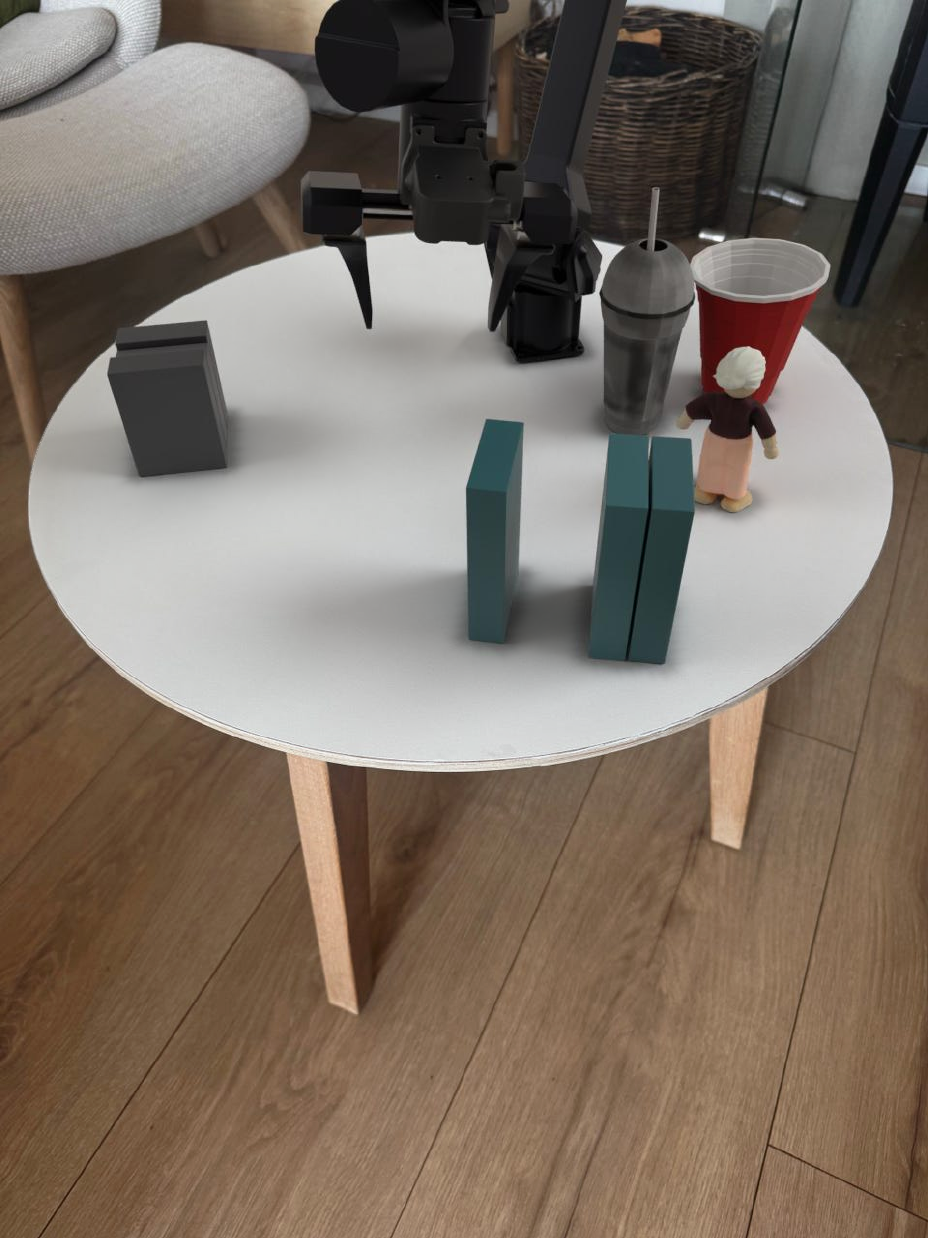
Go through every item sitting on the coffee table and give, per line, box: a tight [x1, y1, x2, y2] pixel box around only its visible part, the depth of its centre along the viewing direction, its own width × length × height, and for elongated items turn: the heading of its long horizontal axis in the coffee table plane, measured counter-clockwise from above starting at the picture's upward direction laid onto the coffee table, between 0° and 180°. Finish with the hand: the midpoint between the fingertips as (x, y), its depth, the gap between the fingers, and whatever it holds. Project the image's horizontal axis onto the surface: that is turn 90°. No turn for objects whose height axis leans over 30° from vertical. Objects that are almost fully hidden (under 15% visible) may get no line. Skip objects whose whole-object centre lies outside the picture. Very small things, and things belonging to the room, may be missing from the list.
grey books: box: [106, 319, 229, 478], centre depth 79 cm, size 7×8×10 cm
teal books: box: [588, 432, 696, 665], centre depth 63 cm, size 7×5×13 cm
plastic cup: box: [689, 237, 831, 406], centre depth 82 cm, size 11×11×12 cm
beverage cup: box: [598, 187, 696, 436], centre depth 77 cm, size 7×7×20 cm
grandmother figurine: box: [676, 346, 780, 513], centre depth 72 cm, size 8×4×13 cm, turn 71°
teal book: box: [465, 418, 525, 645], centre depth 64 cm, size 7×2×13 cm, turn 169°
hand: (430, 328), depth 74 cm, fingers open, 9 cm apart
